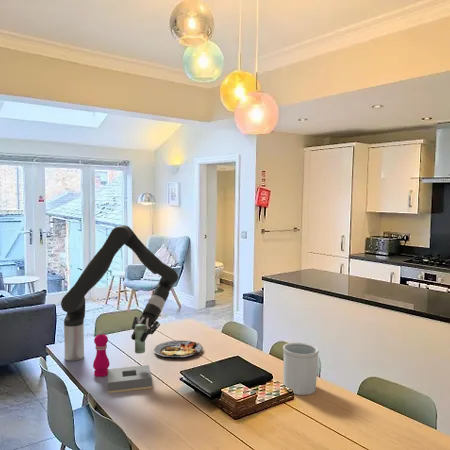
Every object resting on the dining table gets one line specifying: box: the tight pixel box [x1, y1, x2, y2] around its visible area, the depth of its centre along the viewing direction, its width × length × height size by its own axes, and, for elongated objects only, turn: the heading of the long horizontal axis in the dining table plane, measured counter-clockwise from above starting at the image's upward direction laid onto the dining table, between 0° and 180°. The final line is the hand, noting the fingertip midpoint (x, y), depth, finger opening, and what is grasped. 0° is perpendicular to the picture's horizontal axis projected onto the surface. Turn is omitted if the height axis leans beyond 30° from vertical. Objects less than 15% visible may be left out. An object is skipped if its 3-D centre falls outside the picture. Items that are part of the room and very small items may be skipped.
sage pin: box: [134, 324, 146, 354], centre depth 187 cm, size 4×4×12 cm
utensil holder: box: [282, 341, 320, 396], centre depth 179 cm, size 15×15×18 cm
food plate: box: [153, 340, 203, 358], centre depth 220 cm, size 25×23×4 cm
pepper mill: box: [92, 330, 111, 378], centre depth 191 cm, size 7×7×20 cm
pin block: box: [107, 364, 153, 394], centre depth 182 cm, size 14×18×4 cm
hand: (137, 340), depth 186 cm, fingers closed on sage pin, 4 cm apart
